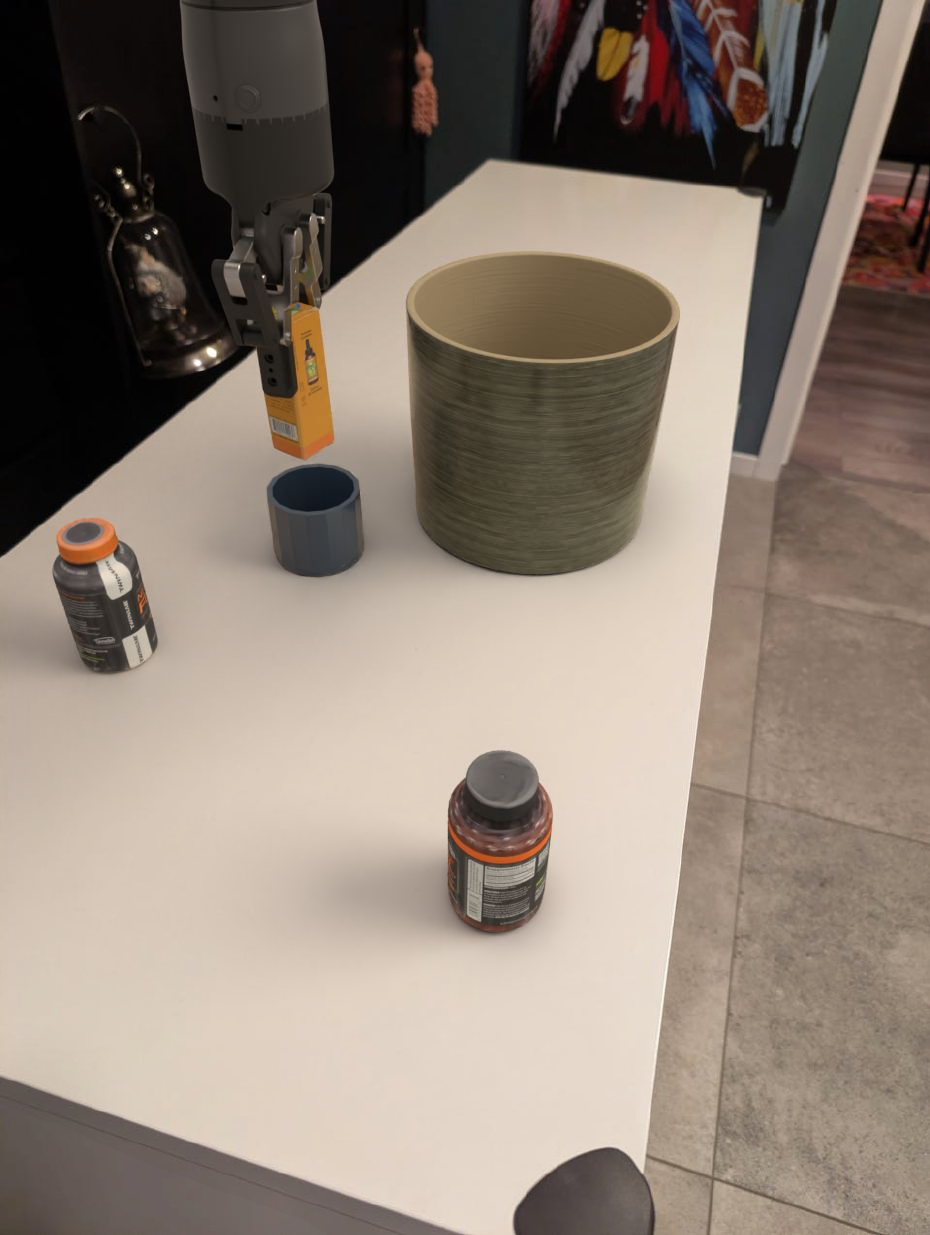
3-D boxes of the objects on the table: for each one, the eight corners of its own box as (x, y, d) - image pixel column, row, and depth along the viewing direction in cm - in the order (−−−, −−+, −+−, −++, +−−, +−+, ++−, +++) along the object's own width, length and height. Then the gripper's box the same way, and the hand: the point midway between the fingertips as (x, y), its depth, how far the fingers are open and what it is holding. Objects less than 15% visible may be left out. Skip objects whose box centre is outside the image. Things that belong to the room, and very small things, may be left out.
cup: (262, 569, 83) (252, 507, 79) (293, 519, 89) (285, 458, 85) (348, 582, 82) (343, 520, 78) (374, 530, 88) (370, 470, 84)
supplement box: (300, 428, 69) (285, 294, 63) (336, 443, 68) (324, 307, 61) (267, 447, 67) (248, 310, 61) (303, 463, 66) (287, 324, 59)
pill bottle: (170, 656, 75) (140, 539, 67) (94, 686, 72) (54, 567, 65) (143, 614, 78) (111, 499, 71) (70, 641, 76) (29, 524, 69)
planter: (371, 544, 86) (358, 331, 73) (462, 429, 102) (465, 236, 89) (610, 605, 80) (643, 385, 67) (668, 473, 96) (704, 273, 83)
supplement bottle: (449, 851, 62) (450, 732, 54) (542, 854, 61) (555, 735, 54) (445, 935, 57) (445, 818, 50) (545, 939, 57) (560, 822, 50)
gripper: (247, 62, 59) (280, 328, 70) (135, 123, 48) (195, 424, 60) (364, 70, 58) (378, 340, 69) (275, 134, 47) (309, 439, 58)
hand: (293, 377), depth 64 cm, fingers closed on supplement box, 4 cm apart
